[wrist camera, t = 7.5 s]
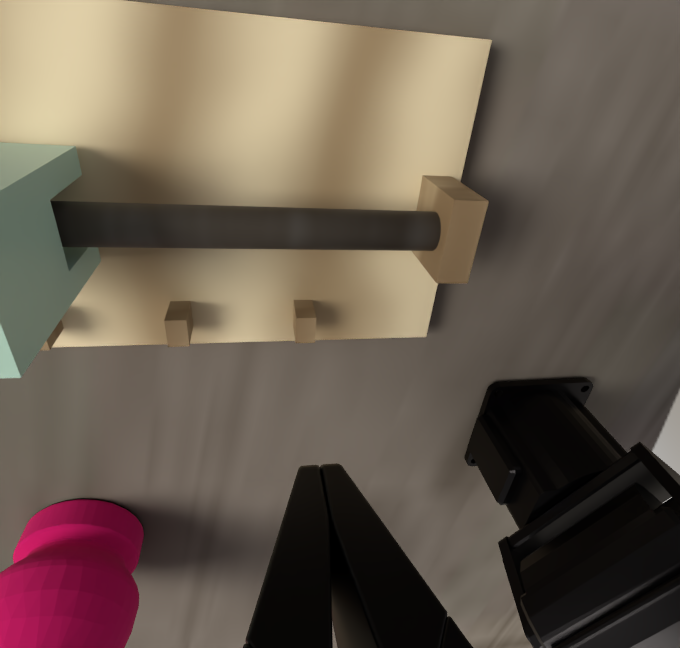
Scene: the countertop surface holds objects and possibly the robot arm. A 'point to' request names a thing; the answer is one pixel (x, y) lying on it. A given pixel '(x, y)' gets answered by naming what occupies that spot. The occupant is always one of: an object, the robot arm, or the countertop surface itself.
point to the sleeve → (35, 251)
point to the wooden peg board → (247, 168)
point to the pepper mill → (72, 578)
